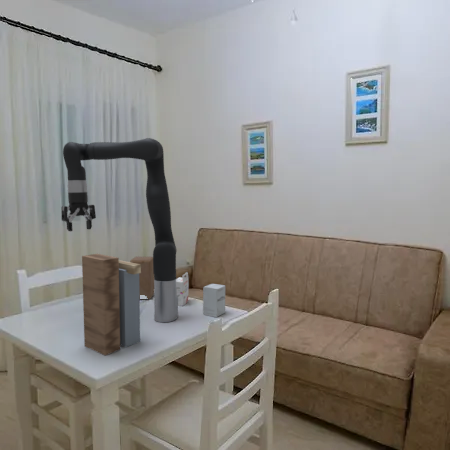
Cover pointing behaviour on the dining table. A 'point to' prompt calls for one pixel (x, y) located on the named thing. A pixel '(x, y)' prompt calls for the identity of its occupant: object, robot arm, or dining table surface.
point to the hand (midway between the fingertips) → (79, 230)
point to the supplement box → (214, 300)
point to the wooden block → (145, 275)
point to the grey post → (129, 308)
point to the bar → (130, 267)
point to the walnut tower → (101, 303)
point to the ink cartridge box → (182, 289)
